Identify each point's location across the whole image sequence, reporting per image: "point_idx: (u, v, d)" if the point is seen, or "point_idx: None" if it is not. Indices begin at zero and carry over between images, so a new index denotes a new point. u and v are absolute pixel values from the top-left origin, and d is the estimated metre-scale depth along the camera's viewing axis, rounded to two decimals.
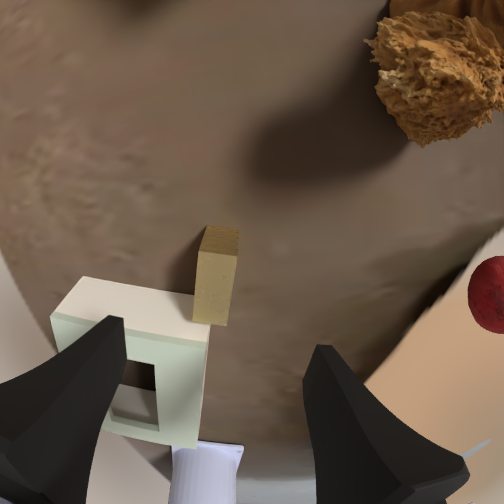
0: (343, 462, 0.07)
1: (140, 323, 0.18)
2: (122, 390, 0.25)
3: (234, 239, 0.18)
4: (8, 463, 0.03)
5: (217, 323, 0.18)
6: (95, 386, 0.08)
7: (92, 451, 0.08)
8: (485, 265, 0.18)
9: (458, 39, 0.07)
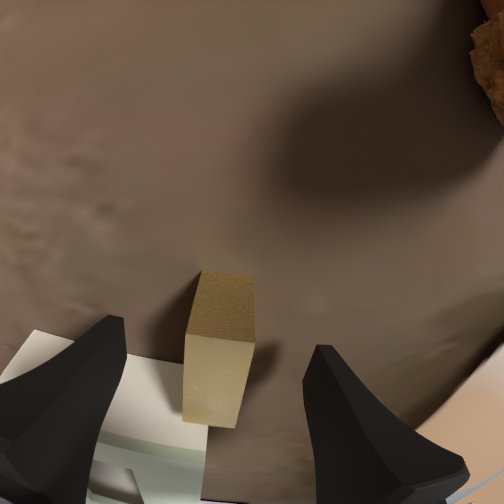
0: (343, 462, 0.07)
1: (105, 417, 0.10)
2: None
3: (246, 300, 0.11)
4: (8, 463, 0.03)
5: (220, 425, 0.10)
6: (95, 386, 0.08)
7: (92, 451, 0.08)
8: None
9: None
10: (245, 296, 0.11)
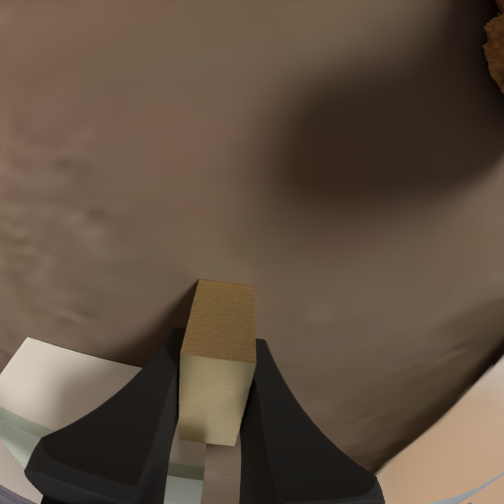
0: (252, 463, 0.07)
1: None
2: None
3: (246, 313, 0.10)
4: None
5: (219, 442, 0.10)
6: (174, 403, 0.08)
7: (167, 469, 0.08)
8: None
9: None
10: (245, 309, 0.10)
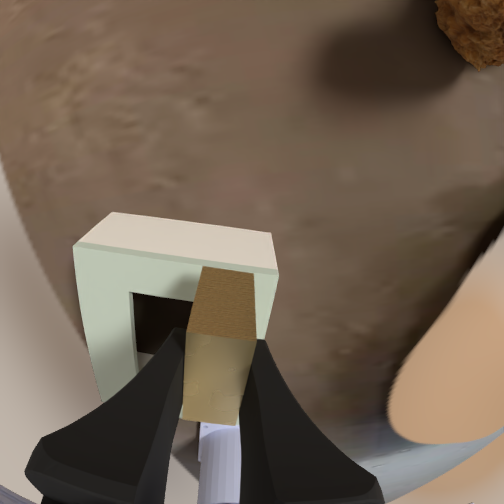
0: (252, 463, 0.07)
1: (191, 251, 0.15)
2: (148, 360, 0.22)
3: (247, 297, 0.11)
4: None
5: (221, 423, 0.10)
6: (174, 404, 0.08)
7: (167, 469, 0.08)
8: None
9: None
10: (246, 293, 0.11)
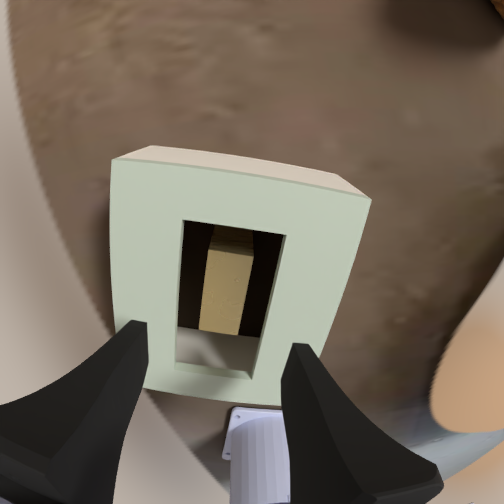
0: (312, 464, 0.07)
1: (263, 172, 0.12)
2: (179, 334, 0.20)
3: (247, 237, 0.16)
4: (46, 481, 0.03)
5: (227, 332, 0.16)
6: (122, 393, 0.08)
7: (118, 458, 0.08)
8: None
9: None
10: (246, 235, 0.16)
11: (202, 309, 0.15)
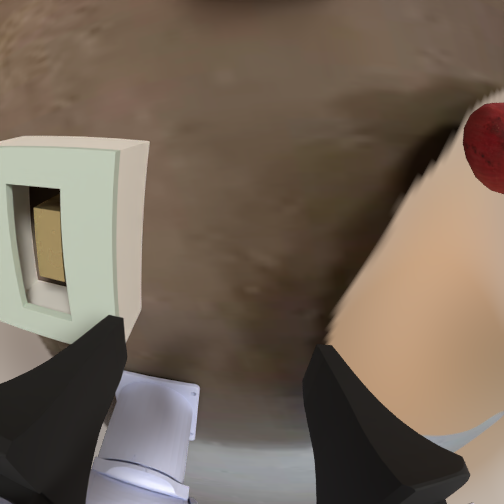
0: (343, 462, 0.07)
1: (56, 144, 0.13)
2: (52, 289, 0.21)
3: None
4: (8, 463, 0.03)
5: (57, 278, 0.17)
6: (95, 386, 0.08)
7: (92, 451, 0.08)
8: (477, 109, 0.14)
9: None
10: None
11: (38, 257, 0.16)
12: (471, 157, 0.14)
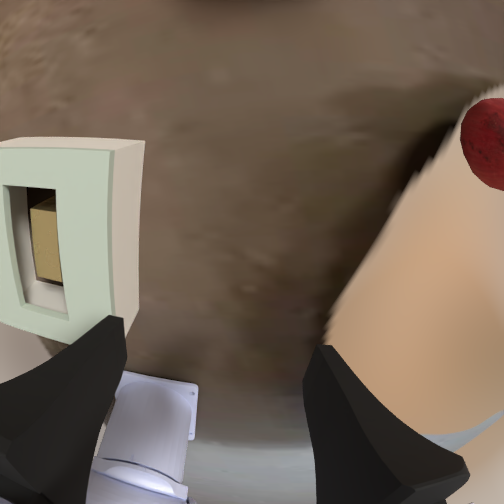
0: (343, 462, 0.07)
1: (52, 145, 0.13)
2: (50, 289, 0.21)
3: None
4: (8, 463, 0.03)
5: (54, 278, 0.17)
6: (95, 386, 0.08)
7: (92, 451, 0.08)
8: (474, 105, 0.14)
9: None
10: None
11: (35, 258, 0.16)
12: (468, 153, 0.14)
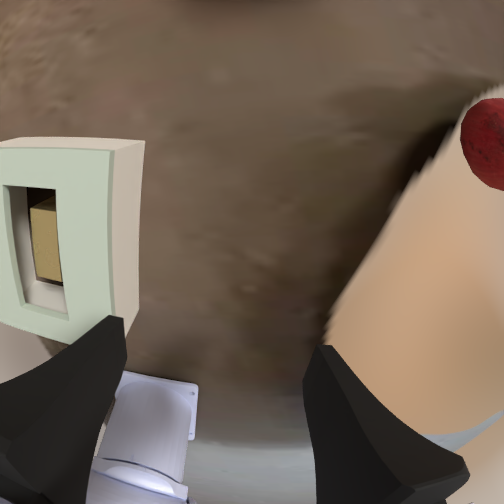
0: (343, 462, 0.07)
1: (52, 145, 0.13)
2: (50, 289, 0.21)
3: None
4: (8, 463, 0.03)
5: (54, 278, 0.17)
6: (95, 386, 0.08)
7: (92, 451, 0.08)
8: (474, 105, 0.14)
9: None
10: None
11: (35, 257, 0.16)
12: (468, 153, 0.14)
